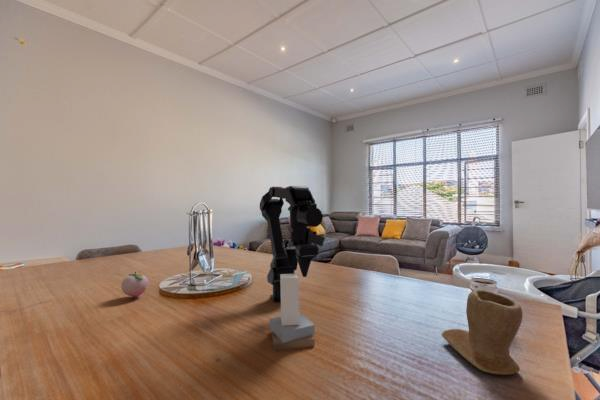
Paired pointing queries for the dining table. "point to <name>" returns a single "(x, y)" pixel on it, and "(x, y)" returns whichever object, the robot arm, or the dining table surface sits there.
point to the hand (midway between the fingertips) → (299, 273)
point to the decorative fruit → (134, 285)
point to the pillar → (289, 299)
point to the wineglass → (483, 285)
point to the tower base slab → (292, 342)
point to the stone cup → (488, 332)
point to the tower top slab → (292, 329)
